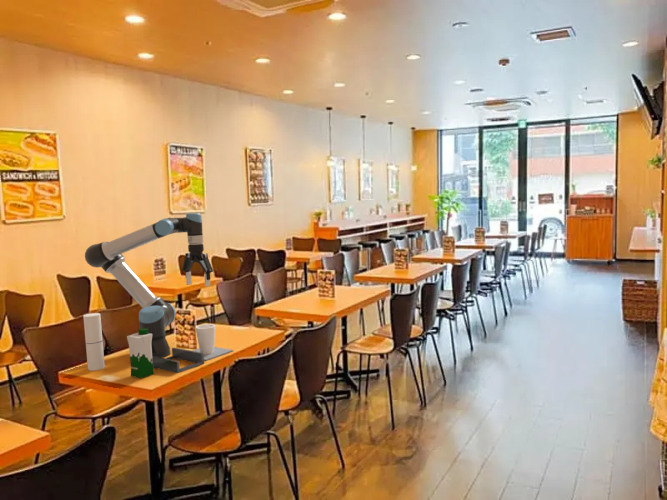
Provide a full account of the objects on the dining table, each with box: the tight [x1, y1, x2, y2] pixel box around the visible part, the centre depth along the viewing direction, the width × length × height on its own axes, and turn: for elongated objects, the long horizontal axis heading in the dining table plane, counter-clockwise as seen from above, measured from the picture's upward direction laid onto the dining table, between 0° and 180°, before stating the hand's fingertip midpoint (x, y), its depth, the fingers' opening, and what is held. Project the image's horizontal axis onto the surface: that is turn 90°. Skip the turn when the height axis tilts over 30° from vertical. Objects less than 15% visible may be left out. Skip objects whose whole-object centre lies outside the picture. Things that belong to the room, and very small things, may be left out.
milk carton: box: [126, 328, 155, 379], centre depth 249 cm, size 9×9×20 cm
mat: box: [192, 346, 234, 362], centre depth 280 cm, size 18×18×1 cm
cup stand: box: [152, 347, 205, 374], centre depth 262 cm, size 20×15×5 cm
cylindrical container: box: [82, 312, 106, 372], centre depth 261 cm, size 7×7×25 cm
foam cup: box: [195, 323, 217, 354], centre depth 279 cm, size 10×9×13 cm
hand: (198, 285), depth 290 cm, fingers open, 13 cm apart
